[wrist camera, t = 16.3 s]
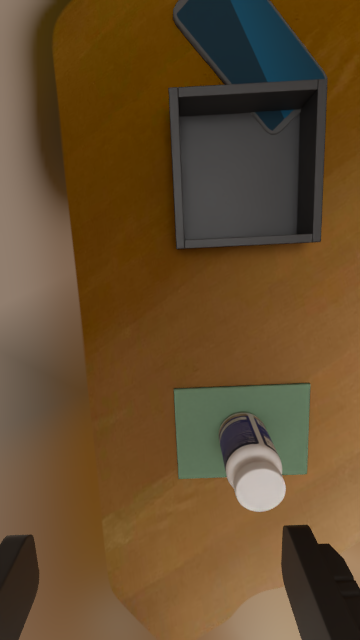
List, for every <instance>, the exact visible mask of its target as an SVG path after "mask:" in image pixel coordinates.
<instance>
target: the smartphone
mask: <svg viewBox="0 0 360 640" xmlns="http://www.w3.org/2000/svg"><path fill="white" fill-rule="evenodd" d="M173 20H174V22H175V24H176V26H177V27H178V28H179V30H180V31H181V32H182V33H183V34H184V36H185V37H186V38H187V39H188V41H189V42H190V43H191V44H192V45H193V47H194V48H195V49H196V50H197V52H198V53H199V54H200V55H201V56H202V58H203V59H204V60H205V61H206V62H207V63H208V65H209V66H210V67H211V68H212V70H213V71H214V72H215V73H216V74H217V76H218V77H219V78H220V79H221V80H222V82H223V83H224V84H225V85H228V84H245V83H263V82H280V81H298V80H315V79H317V80H318V79H327V76H326V74H325V72H324V71H323V69H322V68H321V67H320V66H319V64H318V63H317V62H316V60H315V59H314V58H313V56H312V55H311V54H310V52H309V51H308V50H307V49H306V47H305V46H304V45H303V43H302V42H301V41H300V39H299V38H298V37H297V35H296V34H295V33H294V32H293V30H292V29H291V28H290V26H289V25H288V24H287V22H286V21H285V20H284V18H283V17H282V16H281V15H280V13H279V12H278V11H277V9H276V8H275V7H274V5H273V4H272V3H271V1H270V0H179V1H178V2H177V3H176V5H175V7H174V9H173ZM300 112H301V109H297V110H279V111H260V112H251V114H252V116H253V117H254V118H255V119H256V121H257V122H258V123H259V124H260V125H261V127H262V128H263V129H264V130H265V131H266V132H267V133H269V134H273V135H276V134H278V133H279V132H281V131H282V130H283V129H284V128H285V127H286V126H287V125H288V124H289V123H290V122H291V121H292V120H293V119H294V118H295V117H296V116H297V115H298V114H299V113H300Z"/></svg>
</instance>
